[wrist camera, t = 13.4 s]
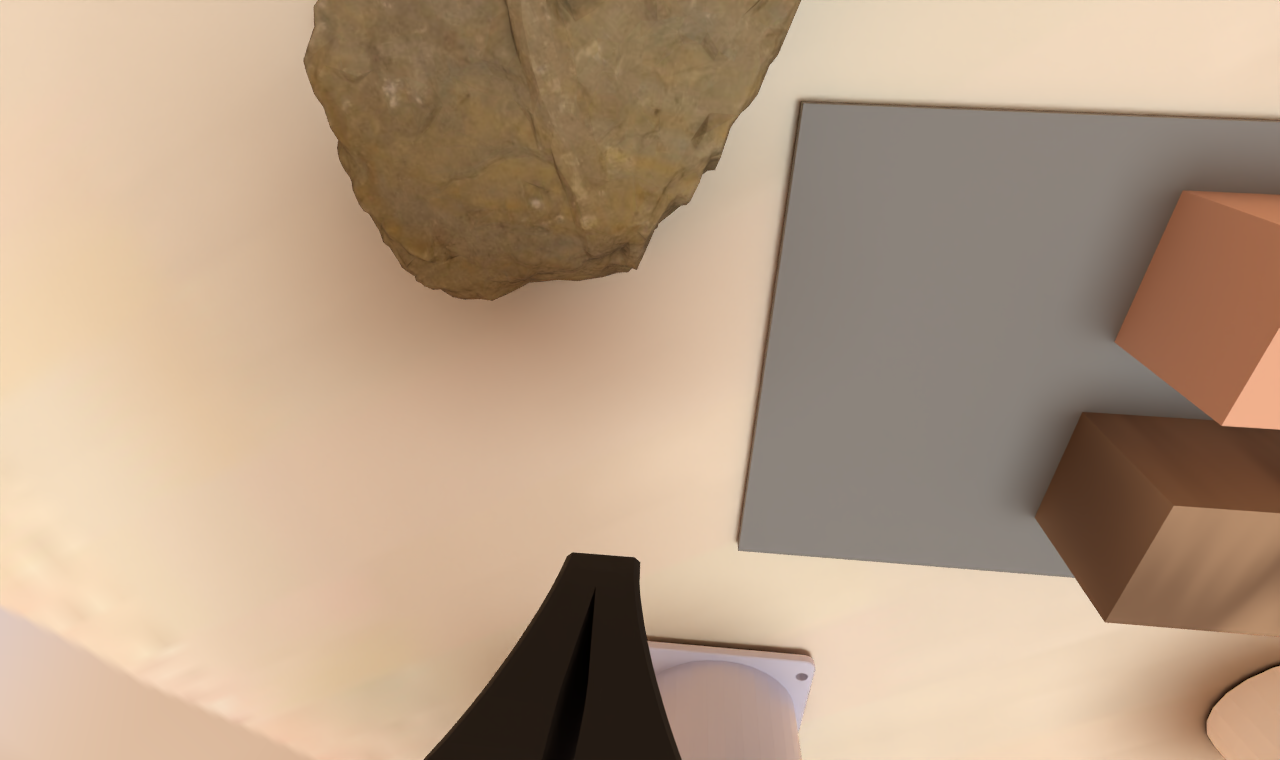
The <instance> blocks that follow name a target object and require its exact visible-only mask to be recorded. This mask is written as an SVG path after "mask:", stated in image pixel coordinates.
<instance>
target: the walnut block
mask: <svg viewBox="0 0 1280 760" xmlns="http://www.w3.org/2000/svg"><path fill="white" fill-rule="evenodd" d="M1035 519H1036V520H1037V522H1038V523H1039V525H1040V526H1041V528H1042V529H1043V531H1044V532H1045V534H1046V535H1047V537H1048V538H1049V540H1050V541H1051V543H1052V544H1053V546H1054V547H1055V549H1056V550H1057V552H1058V553H1059V555H1060V556H1061V558H1062V559H1063V561H1064V562H1065V564H1066V565H1067V567H1068V568H1069V570H1070V571H1071V573H1072V574H1073V576H1074V577H1075V579H1076V580H1077V581H1078V583H1079V584H1080V586H1081V587H1082V589H1083V590H1084V592H1085V593H1086V595H1087V596H1088V598H1089V599H1090V601H1091V602H1092V604H1093V605H1094V607H1095V608H1096V610H1097V611H1098V613H1099V614H1100V616H1101V617H1102V619H1103V620H1104V622H1108V623H1120V624H1132V625H1144V626H1156V627H1168V628H1180V629H1192V630H1204V631H1216V632H1228V633H1240V634H1252V635H1264V636H1276V637H1280V430H1278V429H1263V428H1248V427H1232V426H1221V425H1220V424H1219V423H1217V422H1216V421H1215V420H1201V419H1186V418H1170V417H1155V416H1139V415H1123V414H1108V413H1092V412H1082V414H1081V416H1080V418H1079V420H1078V423H1077V425H1076V427H1075V429H1074V432H1073V434H1072V436H1071V438H1070V440H1069V443H1068V445H1067V447H1066V449H1065V451H1064V454H1063V456H1062V458H1061V460H1060V463H1059V465H1058V467H1057V469H1056V471H1055V474H1054V476H1053V478H1052V480H1051V483H1050V485H1049V487H1048V489H1047V491H1046V494H1045V496H1044V498H1043V500H1042V502H1041V505H1040V507H1039V509H1038V511H1037V514H1036V516H1035Z"/></svg>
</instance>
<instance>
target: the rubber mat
mask: <svg viewBox="0 0 1280 760" xmlns="http://www.w3.org/2000/svg"><path fill="white" fill-rule="evenodd" d="M1183 190H1184V191H1207V192H1229V193H1252V194H1274V195H1280V121H1278V120H1253V119H1227V118H1202V117H1177V116H1151V115H1126V114H1101V113H1075V112H1050V111H1025V110H999V109H974V108H949V107H923V106H898V105H873V104H847V103H822V102H801V108H800V115H799V122H798V129H797V136H796V143H795V150H794V156H793V163H792V170H791V177H790V184H789V191H788V198H787V205H786V212H785V219H784V226H783V233H782V240H781V247H780V254H779V261H778V268H777V274H776V281H775V288H774V295H773V302H772V309H771V316H770V323H769V330H768V337H767V344H766V351H765V358H764V365H763V372H762V379H761V385H760V392H759V399H758V406H757V413H756V420H755V427H754V434H753V441H752V448H751V455H750V462H749V469H748V476H747V483H746V490H745V497H744V503H743V510H742V517H741V524H740V531H739V538H738V551H748V552H761V553H773V554H786V555H798V556H811V557H823V558H836V559H848V560H861V561H873V562H886V563H898V564H910V565H923V566H935V567H948V568H960V569H973V570H985V571H998V572H1010V573H1023V574H1035V575H1047V576H1060V577H1072V578H1075V577H1074V576H1073V574H1072V573H1071V571H1070V570H1069V568H1068V567H1067V565H1066V564H1065V562H1064V561H1063V559H1062V558H1061V556H1060V555H1059V553H1058V552H1057V550H1056V549H1055V547H1054V546H1053V544H1052V543H1051V541H1050V540H1049V538H1048V537H1047V535H1046V534H1045V532H1044V531H1043V529H1042V528H1041V526H1040V525H1039V523H1038V522H1037V520H1036V519H1035V516H1036V514H1037V511H1038V509H1039V507H1040V505H1041V502H1042V500H1043V498H1044V496H1045V494H1046V491H1047V489H1048V487H1049V485H1050V483H1051V480H1052V478H1053V476H1054V474H1055V471H1056V469H1057V467H1058V465H1059V463H1060V460H1061V458H1062V456H1063V454H1064V451H1065V449H1066V447H1067V445H1068V443H1069V440H1070V438H1071V436H1072V434H1073V432H1074V429H1075V427H1076V425H1077V423H1078V420H1079V418H1080V416H1081V414H1082V412H1092V413H1108V414H1123V415H1139V416H1155V417H1170V418H1186V419H1201V420H1213V419H1212V418H1211V417H1210V416H1208V415H1207V414H1206V413H1204V412H1203V411H1202V410H1201V409H1199V408H1198V407H1197V406H1195V405H1194V404H1193V403H1192V402H1190V401H1189V400H1188V399H1186V398H1185V397H1184V396H1183V395H1181V394H1180V393H1179V392H1178V391H1176V390H1175V389H1174V388H1172V387H1171V386H1170V385H1169V384H1167V383H1166V382H1165V381H1163V380H1162V379H1161V378H1160V377H1158V376H1157V375H1156V374H1154V373H1153V372H1152V371H1151V370H1149V369H1148V368H1147V367H1145V366H1144V365H1143V364H1142V363H1140V362H1139V361H1138V360H1136V359H1135V358H1134V357H1133V356H1131V355H1130V354H1129V353H1127V352H1126V351H1125V350H1124V349H1122V348H1121V347H1120V346H1118V345H1117V344H1116V343H1115V339H1116V337H1117V335H1118V333H1119V331H1120V328H1121V326H1122V324H1123V322H1124V320H1125V317H1126V315H1127V313H1128V311H1129V308H1130V306H1131V304H1132V302H1133V300H1134V297H1135V295H1136V293H1137V291H1138V289H1139V286H1140V284H1141V282H1142V280H1143V278H1144V275H1145V273H1146V271H1147V269H1148V266H1149V264H1150V262H1151V260H1152V258H1153V255H1154V253H1155V251H1156V249H1157V247H1158V244H1159V242H1160V240H1161V238H1162V235H1163V233H1164V231H1165V229H1166V227H1167V224H1168V222H1169V220H1170V218H1171V216H1172V213H1173V211H1174V209H1175V207H1176V204H1177V202H1178V200H1179V198H1180V196H1181V193H1182V191H1183Z"/></svg>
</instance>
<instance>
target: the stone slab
mask: <svg viewBox="0 0 1280 760" xmlns="http://www.w3.org/2000/svg"><path fill="white" fill-rule="evenodd" d="M800 2H801V0H318V1H317V2H316V4H315V5H314V26H315V27H314V29H313V32H312V35H311V38H310V41H309V44H308V47H307V50H306V54H305V57H304V65H305V69H306V72H307V75H308V78H309V81H310V84H311V86H312V89H313V92H314V94H315V96H316V97H317V99H318V100H319V101H320V103H321V104H322V106H323V107H324V110H325V113H326V116H327V119H328V122H329V125H330V128H331V129H332V131H333V132H334V134H335V136H336V137H337V139H338V146H337V149H338V155H339V160H340V162H341V164H342V166H343V168H344V170H345V171H346V173H347V174H348V175H349V176H350V179H351V181H352V187H353V191H354V194H355V196H356V198H357V200H358V203H359V205H360V206H361V207H362V209H363V210H364V211H365V212H367V213H369V214H370V216H371V217H372V219H373V221H374V222H375V224H376V226H377V227H378V229H379V231H380V233H381V236H382V239H383V242H384V243H385V244H386V245H387V246H389V247H390V248H391V250H392V252H393V253H394V255H395V256H396V258H397V259H398V261H399V263H400V264H401V266H402V268H404V269H405V270H406V271H408V272H409V273H411V274H412V275H414V276H415V278H416V281H417V282H420V283H422V284H423V285H424V286H425V287H428V288H431V289H433V290H434V289H441V290H443V291H444V292H446V293H447V294H449V295H451V296H452V297H456V298H460V299H485V300H491V301H493V300H495V299H497V298H499V297H502V296H504V295H506V294H508V293H510V292H512V291H514V290H516V289H518V288H520V287H522V286H524V285H525V284H527V283H529V282H541V281H551V280H572V281H580V280H586V279H592V278H599V277H604V276H608V275H611V274H614V273H620V272H629V271H630V269H631V268H633V269H636V270H637V268H638V266H639V263H640V261H641V259H642V257H643V255H644V252H645V250H646V248H647V246H648V244H649V241H650V239H651V237H652V234H653V232H654V230H655V229H656V228H657V226H658V223H660V222H661V221H662V220H663V219H665V218H666V217H667V216H668V215H670V214H671V213H672V212H673V211H675V210H676V209H677V208H678V207H679V206H682V205H687V204H688V203H689V202H690V200H691V198H692V196H693V194H694V192H695V190H696V188H697V186H698V184H699V182H700V179H701V176H702V174H704V173H705V172H706V171H707V170H715V168H716V166H717V164H718V161H719V160H720V158H721V155H722V152H723V149H724V146H725V143H726V140H727V137H728V134H729V130H730V127H731V126H732V124H733V123H734V122H735V120H736V119H737V118H738V116H739V115H740V113H741V112H742V111H744V110H745V109H746V108H747V107H748V106H749V105H750V104H751V102H752V101H753V100H754V98H755V97H756V96H757V94H758V92H759V89H760V87H761V85H762V82H763V80H764V77H765V75H766V72H767V70H768V67H769V65H770V64H771V63H772V62H773V60H774V59H775V58H776V57H777V55H778V53H779V51H780V49H781V46H782V44H783V42H784V39H785V37H786V35H787V32H788V30H789V28H790V25H791V23H792V21H793V18H794V16H795V13H796V11H797V9H798V6H799V4H800Z"/></svg>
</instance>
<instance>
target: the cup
mask: <svg viewBox="0 0 1280 760" xmlns="http://www.w3.org/2000/svg"><path fill="white" fill-rule="evenodd" d="M1207 735H1208V737H1209V738H1210V740H1211V742H1212V743H1213V745H1214V746H1215V748H1216V749H1217V750H1218V751H1219V752H1220V753H1221V755H1222V756H1223V757H1224V758H1225V759H1226V760H1280V666H1278V667H1274V668H1271V669H1269V670H1267V671H1265V672H1263V673H1260V674H1258V675H1256V676H1254V677H1252V678H1249V679H1247V680H1246V681H1244V682H1243V683H1241V684H1240V685H1238V686H1237V687H1235V688H1234V689H1232V690H1231V691H1229V692H1228V693H1226V694H1225V696H1224V697H1223V698H1222V699H1221V700H1220V701H1219V702H1218V703H1217V704H1216V705H1215V706H1214V707H1213V709H1212V711H1211V713H1210V715H1209V717H1208V720H1207Z"/></svg>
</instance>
